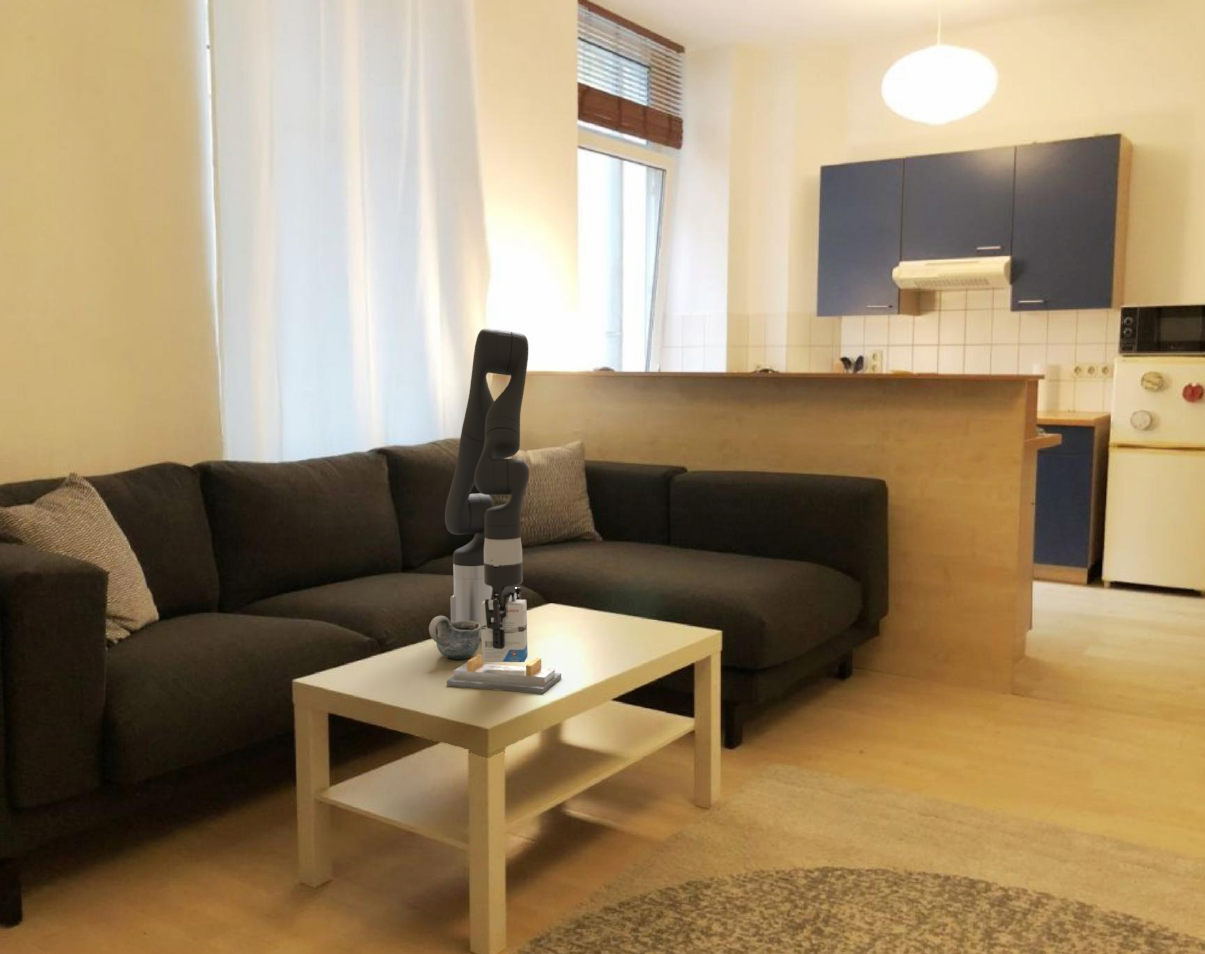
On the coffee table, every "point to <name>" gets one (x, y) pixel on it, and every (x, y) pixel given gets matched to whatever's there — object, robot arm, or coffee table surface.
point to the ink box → (507, 635)
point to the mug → (455, 637)
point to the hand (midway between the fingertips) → (504, 644)
